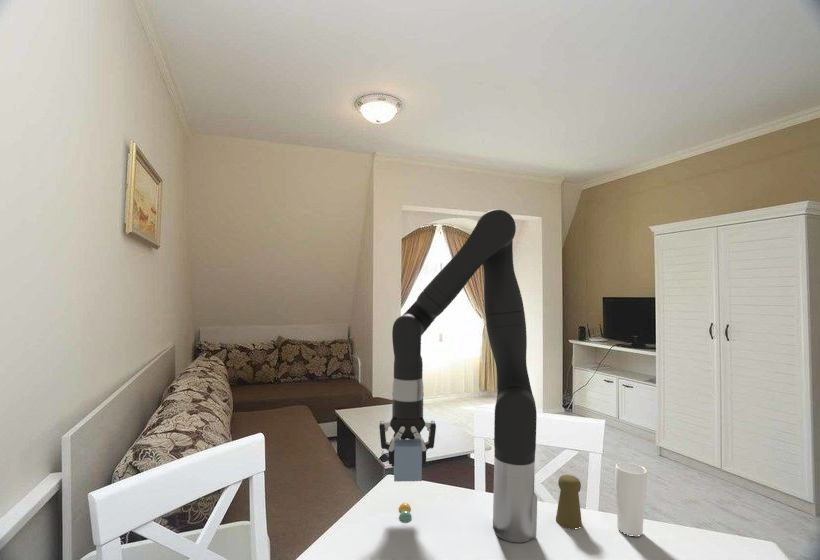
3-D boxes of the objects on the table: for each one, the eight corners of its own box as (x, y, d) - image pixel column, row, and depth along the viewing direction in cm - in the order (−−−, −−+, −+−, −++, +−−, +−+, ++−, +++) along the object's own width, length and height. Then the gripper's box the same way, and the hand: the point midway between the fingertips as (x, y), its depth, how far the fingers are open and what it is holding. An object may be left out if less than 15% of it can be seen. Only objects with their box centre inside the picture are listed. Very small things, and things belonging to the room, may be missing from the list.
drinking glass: (650, 542, 97) (651, 475, 97) (618, 537, 99) (619, 472, 99) (640, 525, 104) (641, 463, 104) (610, 521, 105) (611, 460, 105)
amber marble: (410, 512, 107) (410, 500, 107) (411, 518, 104) (411, 506, 104) (398, 512, 107) (398, 500, 107) (398, 518, 104) (399, 506, 104)
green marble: (411, 520, 103) (411, 508, 104) (411, 527, 100) (412, 514, 101) (398, 520, 103) (399, 508, 103) (399, 527, 100) (399, 514, 100)
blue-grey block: (393, 465, 108) (394, 433, 108) (419, 465, 108) (419, 433, 109) (394, 481, 99) (394, 446, 99) (421, 481, 100) (422, 446, 100)
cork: (581, 518, 107) (581, 473, 107) (583, 531, 101) (584, 484, 101) (555, 513, 108) (556, 470, 109) (555, 526, 103) (556, 480, 103)
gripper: (435, 392, 108) (435, 458, 108) (378, 392, 108) (377, 459, 107) (439, 400, 101) (438, 471, 100) (377, 400, 100) (377, 472, 100)
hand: (407, 465), depth 104 cm, fingers closed on blue-grey block, 6 cm apart
